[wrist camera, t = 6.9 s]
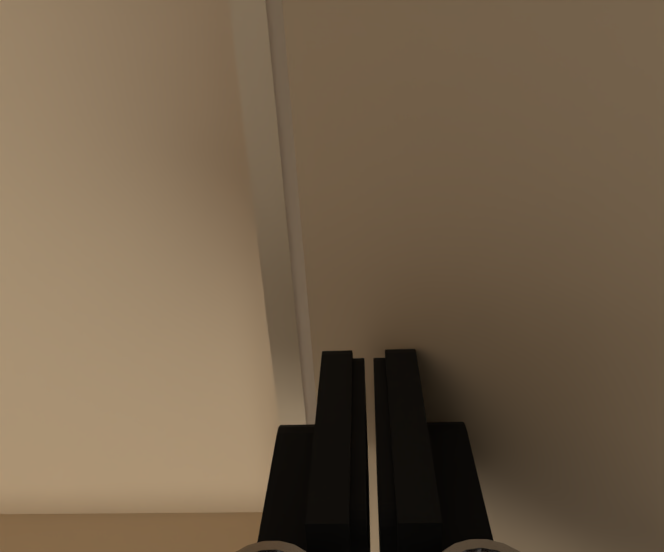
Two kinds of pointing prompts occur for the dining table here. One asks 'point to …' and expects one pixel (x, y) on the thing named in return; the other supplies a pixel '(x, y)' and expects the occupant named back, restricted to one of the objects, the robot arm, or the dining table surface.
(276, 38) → the kraft box
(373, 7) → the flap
